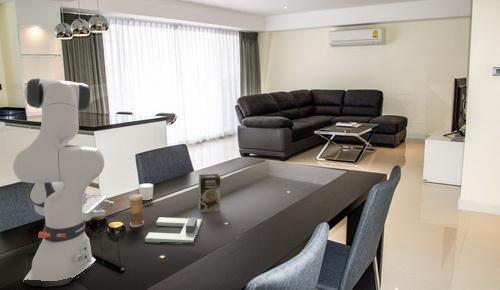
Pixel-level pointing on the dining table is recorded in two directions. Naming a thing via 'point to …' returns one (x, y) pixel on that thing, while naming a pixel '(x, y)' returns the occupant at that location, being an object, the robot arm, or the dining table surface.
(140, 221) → the bobbin
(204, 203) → the coffee box
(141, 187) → the shot glass
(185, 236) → the notched board
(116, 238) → the dining table surface
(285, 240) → the dining table surface
